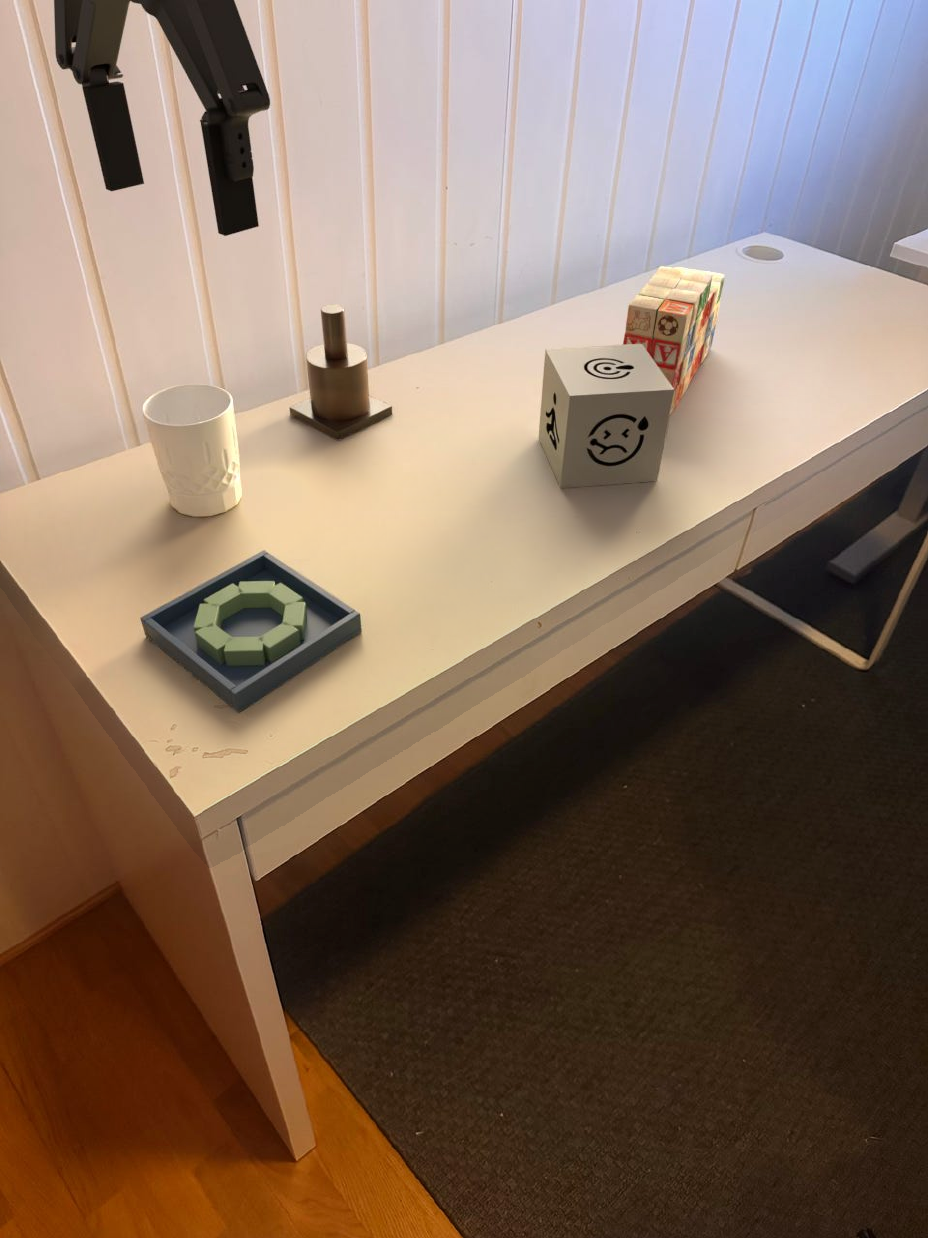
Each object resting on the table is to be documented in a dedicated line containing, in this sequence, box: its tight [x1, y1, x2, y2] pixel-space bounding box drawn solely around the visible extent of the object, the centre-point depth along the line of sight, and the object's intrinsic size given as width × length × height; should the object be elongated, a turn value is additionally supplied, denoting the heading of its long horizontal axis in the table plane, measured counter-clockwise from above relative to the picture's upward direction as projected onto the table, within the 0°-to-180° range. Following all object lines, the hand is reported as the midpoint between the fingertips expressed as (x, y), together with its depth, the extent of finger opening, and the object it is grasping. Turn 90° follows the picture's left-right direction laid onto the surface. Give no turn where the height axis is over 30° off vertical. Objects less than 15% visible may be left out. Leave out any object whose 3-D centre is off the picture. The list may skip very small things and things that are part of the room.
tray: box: [140, 549, 363, 714], centre depth 71 cm, size 12×12×2 cm
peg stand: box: [289, 303, 393, 441], centre depth 95 cm, size 8×8×12 cm
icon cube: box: [538, 344, 674, 489], centre depth 90 cm, size 10×10×10 cm
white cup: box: [141, 383, 243, 518], centre depth 83 cm, size 8×8×10 cm
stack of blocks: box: [622, 265, 726, 417], centre depth 103 cm, size 21×6×12 cm, turn 155°
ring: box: [193, 581, 307, 666], centre depth 71 cm, size 8×8×2 cm
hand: (179, 207), depth 62 cm, fingers open, 13 cm apart
